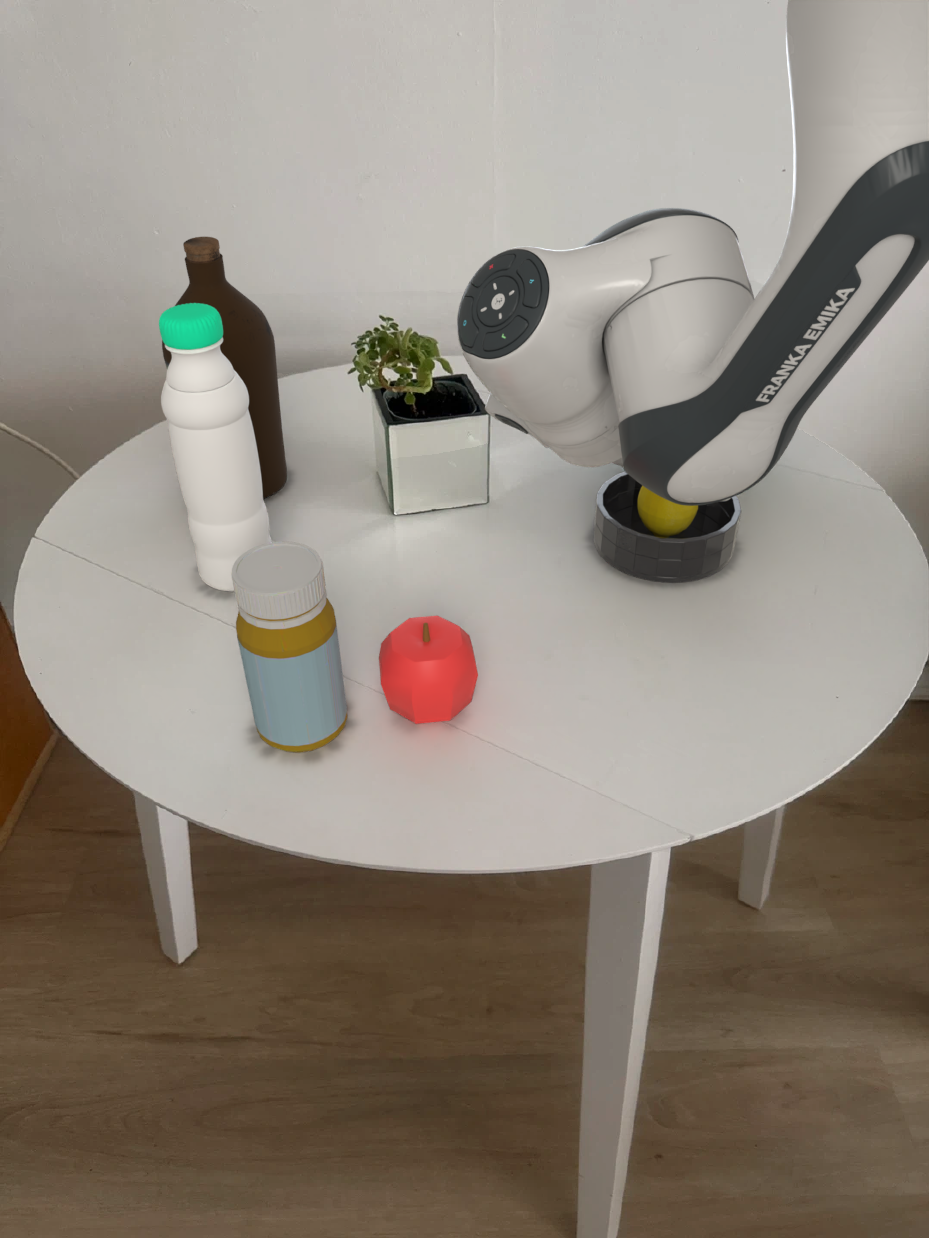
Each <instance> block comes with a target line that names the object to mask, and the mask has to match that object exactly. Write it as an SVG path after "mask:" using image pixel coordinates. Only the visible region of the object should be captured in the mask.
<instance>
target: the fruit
mask: <svg viewBox="0 0 929 1238" xmlns="http://www.w3.org/2000/svg"><path fill="white" fill-rule="evenodd" d="M697 510H698V505H697V506H687V505H680V504H676V503H673V502H671V501H669V500H666V499H664V498H662V497H660V496H658V495H657V494H655V493H653V492H652V491H650V490H648V489H647V488H645V487H644V486H643V485H642V487H641V489H640V492H639V496H638V513H639V515H640V518H641V520H642V521H643V523H644V525H645V526H646V527H647V528H648V529H649V530H650V531H651V532H653V534H654V536H655V537H659V538H668V537H669V536H672V535H676V534H679V533H680V532H682V531H683V530H685V529H686V528H687V527H688V526H689V525H690V524H691V522H692V521H693V519H694V517H695V515H696V513H697Z"/></svg>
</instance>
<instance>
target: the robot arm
mask: <svg viewBox="0 0 929 1238" xmlns="http://www.w3.org/2000/svg"><path fill="white" fill-rule="evenodd" d="M785 16H786V17H785V47H786V48H785V49H786V51H785V52H786V60H787V61H786V63H787V73H788V74H787V75H788V85H789V96H790V106H791V107H790V109H791V123H792V145H793V176H792V178H793V180H792V198H791V208H790V216H789V221H788V227H787V231H786V237H785V240H784V243H783V245H782V246H783V247H782V249H781V253H780V255H779V257H778V260H777V262H776V263H775V266H774V268H773V270H772V272H771V273H770V275H769V276H768V278H766V281H765V282H764V284H763V286H762V287H761V288H760V290H759V291H758V293H757V295H756V296H754V292H753V289H752V284H751V280H750V277H749V272H748V270H747V266H746V263H745V260H744V256H743V253H742V250H741V247H740V243H739V238H738V234H737V233H736V232H735V230H734V229H733V227H732V226H730V225H729V224H727V222H724V221H723V220H722V219H720V218H717V217H716V216H714V215H711V214H709V213H706V212H703V211H701V210H700V211H699V210H695V209H691V208H690V209H689V208H680V207H662V208H653V209H649V210H645V211H642V212H639V213H637V214H633V215H631V216H629V217H627V218H624V219H622V220H620V221H618V222H616V223H614V224H612V225H611V226H609V227H608V228H606V229H604V230H603V231H602V232H600V233H599V234H597V235H596V236H595V237H593V238H592V239H591V240H589V241H588V242H587V243H585V244H584V245H583V246H580V247H576V248H571V249H548V248H543V247H538V246H529V245H528V246H527V245H526V246H525V245H524V246H516V247H511V248H507V249H506V250H503V251H501V252H499V253H497V254H495V255H493V256H492V257H490V258H488V259H487V260H486V261H485V262H484V263H483V264H482V265H481V266H480V267H479V268H478V269H477V270H476V271H475V273H474V274H473V276H472V277H471V279H470V280H469V282H468V283H467V285H466V287H465V289H464V292H463V295H462V297H461V299H460V303H459V306H458V310H457V318H456V319H457V320H456V326H457V327H456V329H457V339H458V345H459V347H460V351H461V354H462V356H463V358H464V360H465V361H466V363H467V364H468V366H469V367H470V369H471V371H472V372H473V374H474V375H475V376H476V378H477V379H478V380H479V382H480V384H482V385H483V387H484V388H485V389H486V390H487V391H488V392H489V395H488V396H487V400H486V403H485V407H484V410H485V412H486V413H487V414H488V415H489V416H491V418H493V419H494V420H496V421H499V422H501V423H503V424H504V425H507V426H509V427H511V428H513V429H516V430H518V431H520V432H522V433H524V434H526V435H529V436H531V437H532V438H533V439H535V440H536V441H537V442H538V443H540V445H542V446H543V447H545V448H546V449H550V450H551V451H552V452H553V453H554V454H555V455H556V456H558V457H559V458H560V459H561V460H563V461H565V462H566V463H569V464H570V465H574V466H577V467H581V468H598V467H602V466H607V465H609V464H614V465H616V466H620V467H622V468H623V470H624V472H626V473H627V474H629V475H630V476H631V477H632V478H634V479H635V480H636V481H637V482H639V483H640V484H641V485H643V486H644V487H645V488H647V489H648V490H650V491H652V492H653V493H655V494H657V495H658V496H660V497H662V498H664V499H666V500H669V501H671V502H673V503H676V504H680V505H687V506H697V505H706V504H711V503H716V502H719V501H720V502H722V501H727V500H729V499H730V498H731V497H734V496H739V495H741V494H742V493H744V492H746V491H748V490H749V489H752V488H753V487H754V486H756V485H757V484H758V483H760V482H761V481H762V480H763V479H764V478H765V477H767V475H768V474H769V473H770V472H771V471H772V469H773V468H775V466H776V465H777V463H778V462H779V461H780V459H781V458H782V457H783V455H784V453H785V452H786V450H787V448H788V447H789V445H790V443H791V442H792V440H793V438H794V436H795V434H796V431H797V429H798V427H799V425H800V423H801V421H802V419H803V418H804V416H805V414H806V413H807V412H808V411H809V409H810V408H811V406H812V405H813V404H814V402H815V401H816V400H817V399H818V398H819V397H820V395H821V394H822V393H823V391H824V390H825V389H826V388H827V387H828V385H829V384H830V383H831V382H832V380H833V379H834V378H835V376H837V374H838V373H839V372H840V371H841V369H842V368H843V367H844V366H845V365H846V363H847V362H848V361H849V360H850V358H851V357H852V356H853V355H854V354H855V353H856V351H857V350H858V349H859V348H860V347H861V345H862V344H863V342H864V341H865V340H866V339H867V338H868V336H869V335H870V334H871V333H872V332H873V330H874V329H875V328H876V327H877V325H879V323H880V322H881V321H882V320H883V318H884V317H885V316H886V315H887V314H888V312H889V311H890V310H891V309H892V307H893V306H894V305H895V304H896V303H897V302H898V300H899V299H900V297H902V295H903V294H904V293H905V291H906V290H907V289H908V288H909V286H911V284H912V282H913V281H914V280H915V279H916V278H917V277H918V275H919V274H920V273H921V271H922V270H923V268H924V267H925V266H926V265H927V263H929V0H788V1H787V5H786V15H785Z"/></svg>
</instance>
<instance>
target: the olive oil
mask: <svg viewBox="0 0 929 1238" xmlns="http://www.w3.org/2000/svg"><path fill="white" fill-rule="evenodd" d="M220 249H221V245H220V242H219V240H218V239H217V237H216V238H215V237H212V236H195V237H191V238H189V239H187V240H185V241H184V242H183V250H184V252H185V257H184V263H185V267H186V272H187V276H188V281H189V283H188V286H187V288H186V289H185V291H184V292H183V293H182V295H181V296H180V298H179V299H178V300H177V301H176V304H174V306H177V305H181V304H186V303H187V304H189V303H200V304H207V305H210V306H212V307H214V308H215V309H216V310H217V311H218V312H219V314H220V316H221V320H222V325H223V336H222V337H223V342H222V344H221V345H220V350H221V352H222V354H223V355H224V356H225V357H226V358H227V359H228V360H229V361H230V363H231V364H232V366H233V369H234V370H235V371H236V372H237V374H238V375H239V377H240V378H241V379H242V381H243V382H244V384H245V386H246V388H247V391H248V395H249V406H248V410H249V414H250V417H251V421H252V425H253V430H254V435H255V440H256V445H257V451H258V457H259V464H260V471H261V479H262V490H263V500H265V499H266V498H269V497H270V496H273V495H274V494H276V493H277V492H278V491H280V490H281V489H282V488H283V487H284V485H285V484H286V482H287V478H288V471H287V462H286V452H285V451H286V450H285V443H284V442H285V441H284V433H283V423H282V411H281V402H280V400H281V399H280V389H279V379H278V366H277V352H276V341H275V337H274V333H273V330H272V327H271V324H270V323H269V320H268V318H267V317H266V315H265V313H264V312H263V310H261V308H260V307H259V306H258V305H257V304H256V303H255V302H254V301H252V300H251V299H250V298H248V297H247V296H246V295H244V293H242V292H240V290H238V289H237V288H236V287H235V286H234V285H232V284H231V283H230V282H229V281H228V280H227V278H226V272H225V264H224V257H223V254H222V253H221V252H220ZM161 347H162V348H161V350H162V357H163V360H164V364H165V369H166V370H167V369H168V366H169V364H170V362H171V359H172V354H171V352H170V351H169V350H167V349H166V348H165V344H164V342H163V340H162V339H161Z"/></svg>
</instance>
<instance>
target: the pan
mask: <svg viewBox="0 0 929 1238" xmlns="http://www.w3.org/2000/svg"><path fill="white" fill-rule="evenodd" d="M641 487H642V485H641V484H640V483H639V482H637V481H636V480H635V479H634V478H632V477H631V476H630V475H629V474H627V473H626V472H625V471H622V472H620V473H616V474H615V475H613V476H612V477H610V478H608V479H607V480H606V481H604V482H603V483H602V485H601V487H600V488H599V489H598V491H597V493H596V499H595V500H596V501H595V512H594V525H593V529H594V530H593V543H594V547H595V549H596V550H597V553H598V555H599V556H600V557H601V558H602V560H604V561H605V562H606V563H607V564H608V565H610V566H611V567H613V568H615V569H616V570H618V571H620V572H621V573H624V574H626V575H629V576H631V577H634V578H637V579H641V580H644V581H650V582H656V583H669V584H676V583H677V584H678V583H679V584H680V583H688V582H689V583H690V582H695V581H699V580H700V581H701V580H702V579H705V578H709V577H711V576H714V575H715V574H717V573H718V572H720V571H722V570H723V569H724V568H725V567H726V566H727V565H728V564H729V562H730V561H731V559H732V557H733V553H734V550H735V547H736V543H737V537H738V531H739V526H740V521H741V516H742V507H741V503H740V499H739V497H738V495H736V496H734V497H731V498H730V499H729V500H727V501H722V502H720V501H719V502H716V503H711V504H706V505H698V510H697V513H696V515H695V517H694V519H693V521H692V522H691V524H690V525H689V526H688V527H687V528H686V529H685V530H683V531H682V532H680V533H679V534H676V535H672V536H669V537H668V538H659V537H655V536H654V534H653V532H651V531H650V530H649V529H648V528H647V527H646V526H645V525H644V523H643V521H642V520H641V518H640V515H639V513H638V496H639V492H640V489H641Z"/></svg>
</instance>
